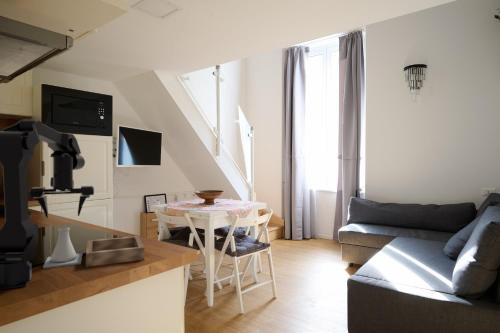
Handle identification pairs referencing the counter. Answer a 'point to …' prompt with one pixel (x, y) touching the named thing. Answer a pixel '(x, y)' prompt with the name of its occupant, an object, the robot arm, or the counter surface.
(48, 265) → the pale grey flat slab
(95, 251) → the walnut box
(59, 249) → the flask
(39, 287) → the counter surface
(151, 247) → the counter surface
